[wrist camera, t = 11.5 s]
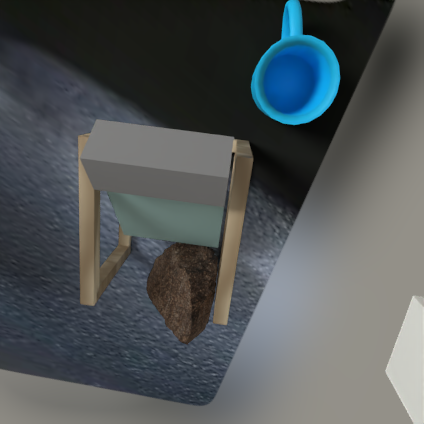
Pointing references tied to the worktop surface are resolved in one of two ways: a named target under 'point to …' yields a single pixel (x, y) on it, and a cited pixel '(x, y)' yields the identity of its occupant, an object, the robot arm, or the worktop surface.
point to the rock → (184, 288)
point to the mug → (295, 74)
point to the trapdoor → (161, 179)
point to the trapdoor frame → (90, 236)
